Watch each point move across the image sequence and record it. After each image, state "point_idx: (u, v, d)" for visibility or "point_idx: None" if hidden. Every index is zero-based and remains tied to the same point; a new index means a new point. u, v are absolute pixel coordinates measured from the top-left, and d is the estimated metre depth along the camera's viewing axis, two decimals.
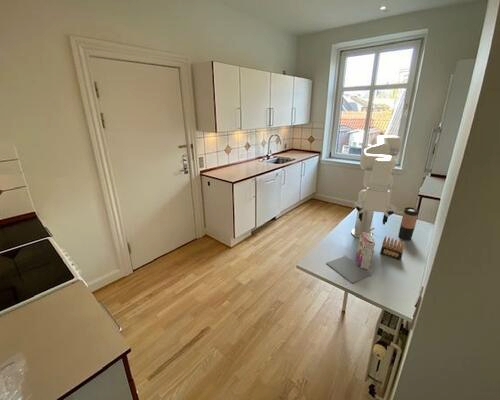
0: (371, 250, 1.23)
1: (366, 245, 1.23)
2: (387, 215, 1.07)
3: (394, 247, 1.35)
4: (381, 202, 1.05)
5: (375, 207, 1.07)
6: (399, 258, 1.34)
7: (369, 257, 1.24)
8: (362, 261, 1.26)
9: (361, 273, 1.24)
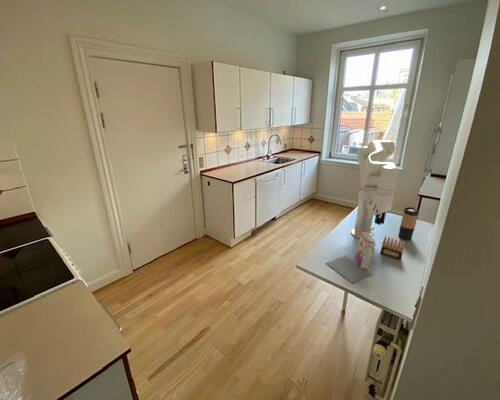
0: (371, 250, 1.23)
1: (366, 246, 1.23)
2: (385, 215, 1.25)
3: (394, 247, 1.35)
4: (390, 202, 1.21)
5: (386, 208, 1.22)
6: (399, 258, 1.34)
7: (369, 257, 1.24)
8: (362, 261, 1.26)
9: (361, 273, 1.24)
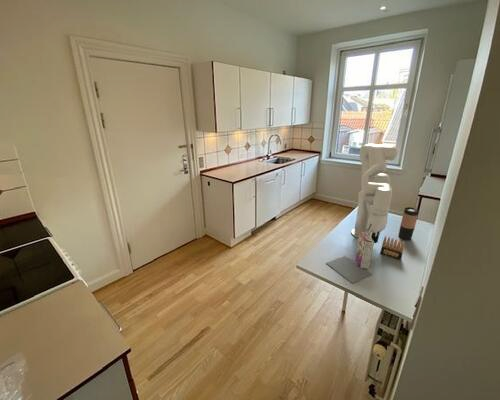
0: (370, 249, 1.23)
1: (365, 245, 1.23)
2: (378, 234, 1.28)
3: (394, 247, 1.35)
4: (384, 222, 1.25)
5: (381, 227, 1.25)
6: (399, 258, 1.34)
7: (369, 256, 1.24)
8: (361, 261, 1.26)
9: (361, 273, 1.24)
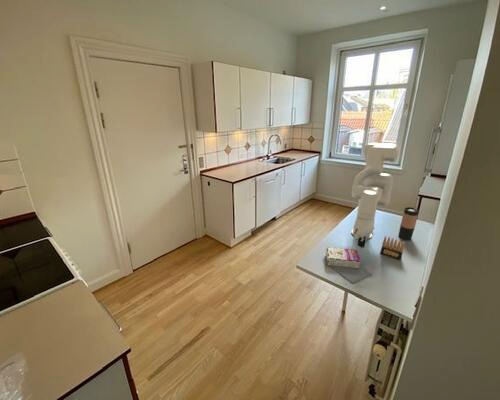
0: (337, 260, 1.28)
1: (332, 264, 1.30)
2: (365, 239, 1.24)
3: (394, 247, 1.35)
4: (371, 227, 1.21)
5: (367, 232, 1.21)
6: (399, 258, 1.34)
7: (345, 261, 1.28)
8: (351, 267, 1.28)
9: (361, 273, 1.24)
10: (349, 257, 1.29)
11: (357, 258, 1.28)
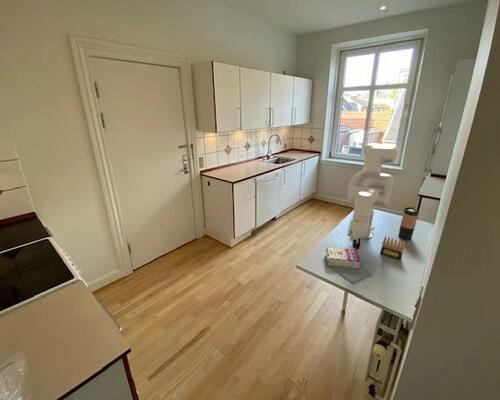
0: (337, 260, 1.28)
1: (332, 264, 1.30)
2: (360, 241, 1.23)
3: (394, 247, 1.35)
4: (366, 229, 1.19)
5: (362, 234, 1.20)
6: (399, 258, 1.34)
7: (345, 261, 1.28)
8: (350, 267, 1.28)
9: (361, 273, 1.24)
10: (349, 257, 1.29)
11: (357, 258, 1.28)
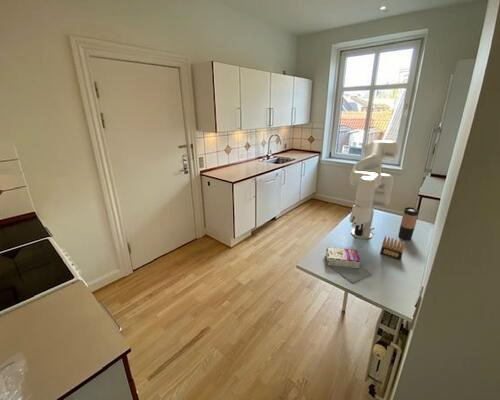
0: (337, 260, 1.28)
1: (332, 264, 1.30)
2: (363, 227, 1.20)
3: (394, 247, 1.35)
4: (368, 214, 1.17)
5: (365, 220, 1.17)
6: (399, 258, 1.34)
7: (345, 261, 1.28)
8: (350, 267, 1.28)
9: (361, 273, 1.24)
10: (349, 257, 1.29)
11: (357, 258, 1.28)
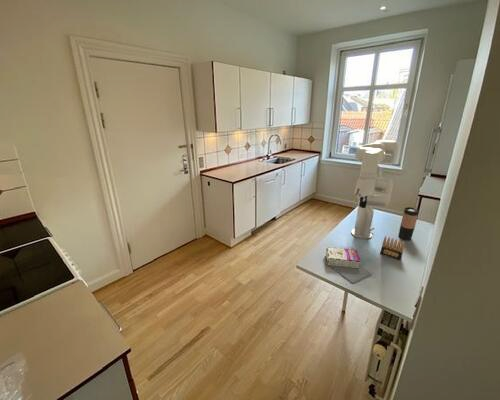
0: (337, 260, 1.28)
1: (332, 264, 1.30)
2: (367, 199, 1.30)
3: (394, 247, 1.35)
4: (372, 187, 1.27)
5: (368, 192, 1.27)
6: (399, 258, 1.34)
7: (345, 261, 1.28)
8: (350, 267, 1.28)
9: (361, 273, 1.24)
10: (349, 257, 1.29)
11: (357, 258, 1.28)
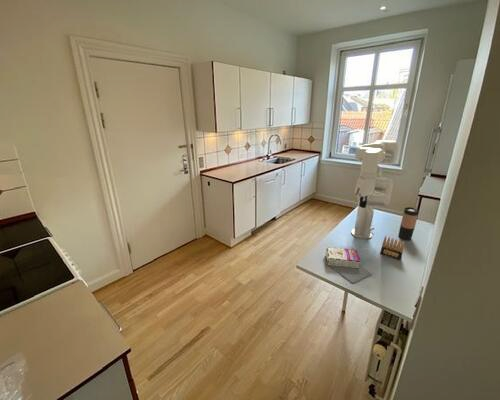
0: (337, 260, 1.28)
1: (332, 264, 1.30)
2: (367, 199, 1.30)
3: (394, 247, 1.35)
4: (372, 186, 1.27)
5: (368, 191, 1.27)
6: (399, 258, 1.34)
7: (345, 261, 1.28)
8: (350, 267, 1.28)
9: (361, 273, 1.24)
10: (349, 257, 1.29)
11: (357, 258, 1.28)
